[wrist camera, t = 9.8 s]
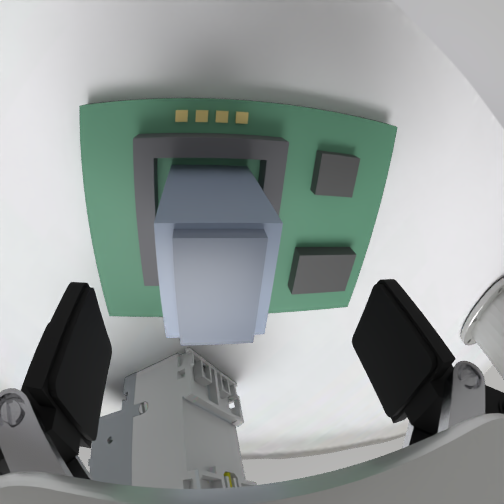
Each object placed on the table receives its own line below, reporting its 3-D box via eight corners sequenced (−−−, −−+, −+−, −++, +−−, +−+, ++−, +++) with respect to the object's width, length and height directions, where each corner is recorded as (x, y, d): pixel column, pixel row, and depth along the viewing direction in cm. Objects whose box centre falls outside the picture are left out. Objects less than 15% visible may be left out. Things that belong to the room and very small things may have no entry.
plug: (247, 165, 15) (288, 231, 9) (239, 249, 18) (266, 347, 11) (171, 164, 14) (151, 232, 8) (173, 250, 17) (166, 351, 11)
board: (386, 123, 16) (411, 131, 14) (341, 297, 23) (354, 318, 21) (87, 104, 13) (69, 108, 10) (112, 304, 20) (105, 330, 18)
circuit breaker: (90, 392, 25) (79, 519, 13) (189, 347, 23) (206, 526, 11) (138, 419, 29) (141, 532, 17) (236, 383, 27) (265, 524, 15)
